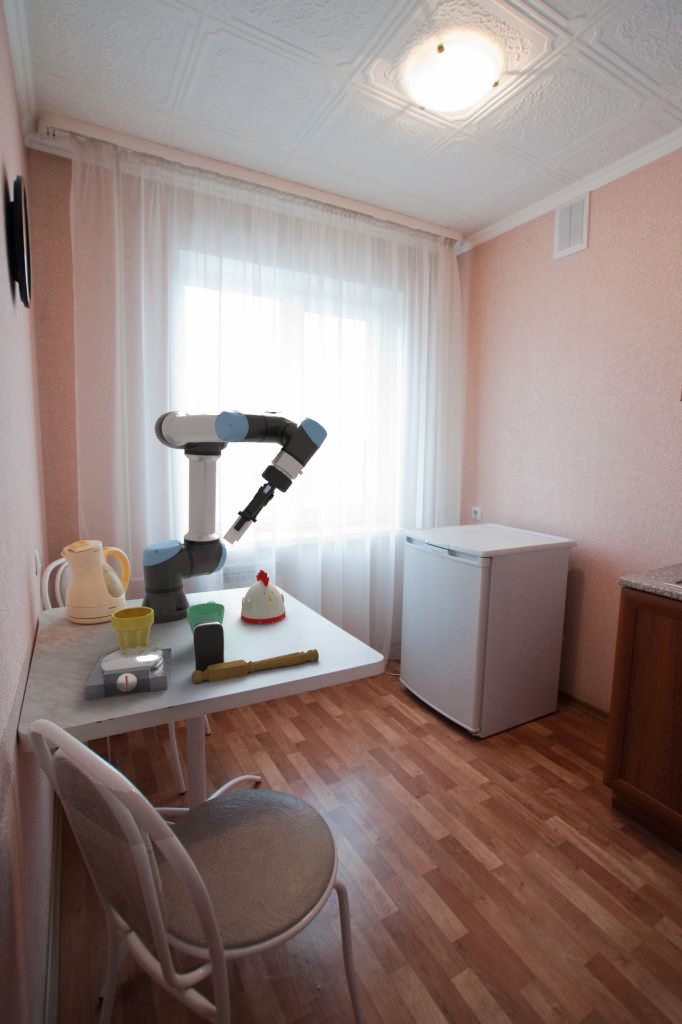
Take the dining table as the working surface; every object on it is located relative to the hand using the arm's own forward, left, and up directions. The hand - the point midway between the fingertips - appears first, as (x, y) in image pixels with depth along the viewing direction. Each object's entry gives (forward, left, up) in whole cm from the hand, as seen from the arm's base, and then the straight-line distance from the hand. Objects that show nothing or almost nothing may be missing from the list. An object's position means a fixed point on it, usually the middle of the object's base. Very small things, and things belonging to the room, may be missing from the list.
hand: (230, 540), depth 119 cm
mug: (-11, -6, -30) cm, 32 cm away
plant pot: (-12, -25, -30) cm, 41 cm away
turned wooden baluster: (+12, +5, -30) cm, 33 cm away
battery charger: (+7, -6, -30) cm, 31 cm away
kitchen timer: (-27, +11, -30) cm, 42 cm away
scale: (+7, -23, -30) cm, 38 cm away
